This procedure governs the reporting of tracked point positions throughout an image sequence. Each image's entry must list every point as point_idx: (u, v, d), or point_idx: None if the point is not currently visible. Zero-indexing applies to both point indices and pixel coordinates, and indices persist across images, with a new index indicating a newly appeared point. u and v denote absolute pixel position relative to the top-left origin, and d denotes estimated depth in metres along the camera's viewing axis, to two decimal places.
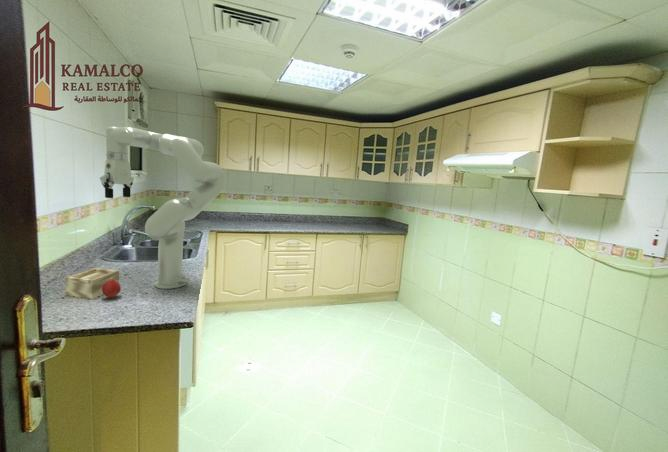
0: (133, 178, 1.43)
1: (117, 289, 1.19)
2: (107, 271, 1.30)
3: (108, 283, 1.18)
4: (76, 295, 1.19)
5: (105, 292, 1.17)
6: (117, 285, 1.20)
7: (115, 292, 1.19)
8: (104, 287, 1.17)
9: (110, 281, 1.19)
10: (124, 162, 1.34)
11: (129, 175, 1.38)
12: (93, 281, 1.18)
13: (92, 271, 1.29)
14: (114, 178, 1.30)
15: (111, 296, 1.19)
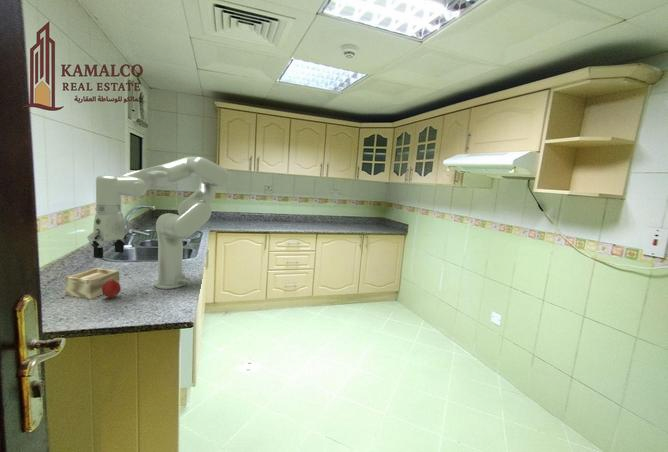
0: (127, 230, 1.25)
1: (117, 289, 1.19)
2: (107, 271, 1.30)
3: (108, 283, 1.18)
4: (75, 295, 1.19)
5: (105, 292, 1.17)
6: (117, 285, 1.20)
7: (115, 292, 1.19)
8: (104, 287, 1.17)
9: (110, 281, 1.19)
10: (117, 215, 1.16)
11: (122, 229, 1.20)
12: (91, 281, 1.18)
13: (93, 271, 1.29)
14: (104, 235, 1.12)
15: (111, 296, 1.19)
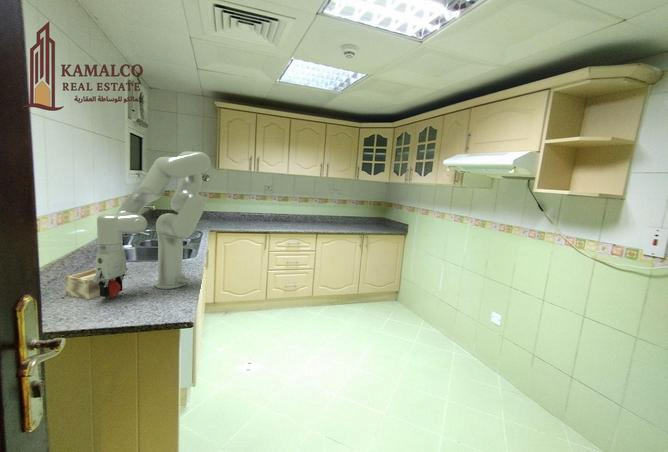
0: None
1: (117, 289, 1.19)
2: None
3: (108, 283, 1.18)
4: (75, 295, 1.19)
5: None
6: (117, 285, 1.20)
7: (115, 292, 1.19)
8: None
9: (110, 281, 1.19)
10: (118, 252, 1.18)
11: (124, 265, 1.22)
12: (90, 281, 1.18)
13: (94, 271, 1.29)
14: (106, 274, 1.14)
15: (111, 296, 1.19)
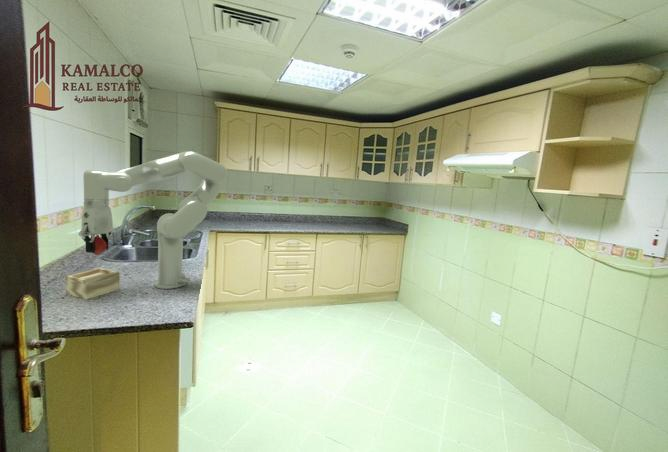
0: None
1: (103, 246, 1.20)
2: (109, 272, 1.29)
3: (94, 239, 1.19)
4: (74, 294, 1.19)
5: None
6: (103, 242, 1.20)
7: (101, 249, 1.20)
8: None
9: (96, 238, 1.19)
10: (104, 209, 1.19)
11: (110, 222, 1.23)
12: (88, 281, 1.17)
13: (95, 271, 1.29)
14: (93, 229, 1.15)
15: (97, 253, 1.20)
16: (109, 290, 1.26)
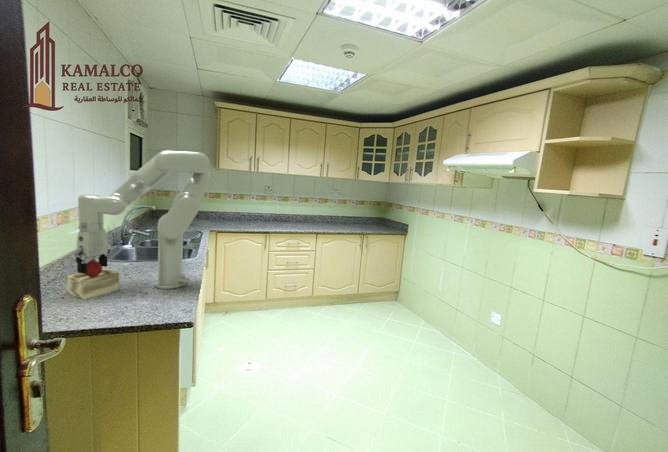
0: (110, 244, 1.31)
1: (98, 269, 1.23)
2: (109, 272, 1.29)
3: (89, 263, 1.22)
4: (73, 294, 1.20)
5: None
6: (98, 265, 1.24)
7: (96, 272, 1.23)
8: None
9: (92, 261, 1.23)
10: (99, 232, 1.22)
11: (105, 244, 1.26)
12: (85, 282, 1.17)
13: None
14: (87, 252, 1.18)
15: (93, 276, 1.23)
16: (108, 291, 1.25)
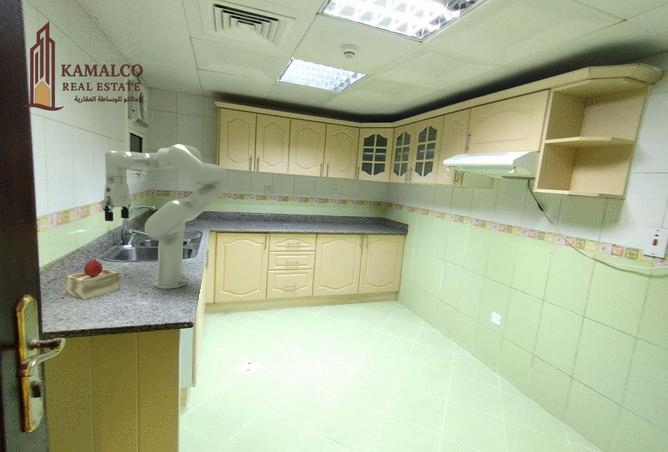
0: None
1: (98, 269, 1.23)
2: (109, 272, 1.29)
3: (90, 263, 1.22)
4: (73, 294, 1.20)
5: (87, 271, 1.22)
6: (99, 265, 1.24)
7: (96, 272, 1.23)
8: (86, 266, 1.22)
9: (92, 261, 1.23)
10: (123, 185, 1.36)
11: (128, 197, 1.40)
12: (85, 282, 1.17)
13: None
14: (114, 202, 1.32)
15: (92, 275, 1.23)
16: (108, 291, 1.26)
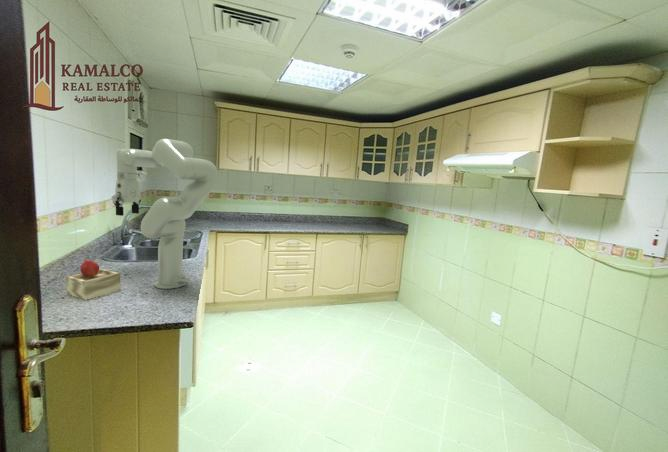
0: (141, 195, 1.52)
1: (92, 264, 1.23)
2: (110, 273, 1.29)
3: None
4: (74, 295, 1.19)
5: (82, 271, 1.22)
6: (91, 262, 1.24)
7: (91, 267, 1.22)
8: None
9: (84, 261, 1.24)
10: (133, 181, 1.43)
11: (138, 193, 1.47)
12: (87, 283, 1.17)
13: None
14: (124, 197, 1.39)
15: (91, 273, 1.23)
16: (109, 291, 1.25)
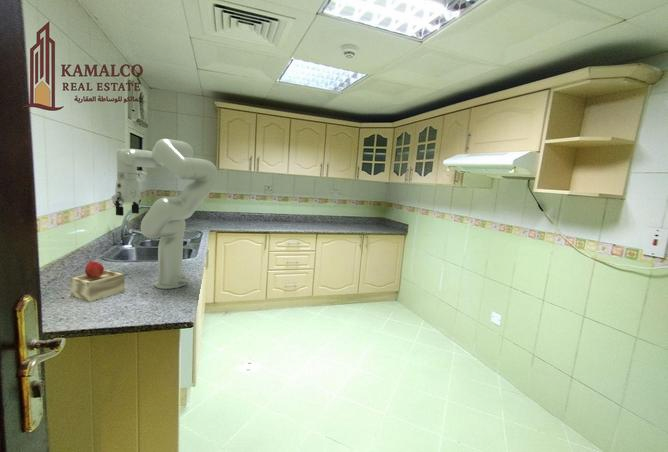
0: (141, 195, 1.52)
1: (97, 265, 1.22)
2: (114, 274, 1.28)
3: (87, 264, 1.22)
4: (78, 296, 1.18)
5: (87, 272, 1.21)
6: (96, 263, 1.23)
7: (96, 268, 1.22)
8: (85, 269, 1.22)
9: (89, 262, 1.23)
10: (133, 181, 1.43)
11: (138, 193, 1.47)
12: (91, 284, 1.16)
13: None
14: (124, 197, 1.39)
15: (95, 274, 1.22)
16: (114, 292, 1.24)
